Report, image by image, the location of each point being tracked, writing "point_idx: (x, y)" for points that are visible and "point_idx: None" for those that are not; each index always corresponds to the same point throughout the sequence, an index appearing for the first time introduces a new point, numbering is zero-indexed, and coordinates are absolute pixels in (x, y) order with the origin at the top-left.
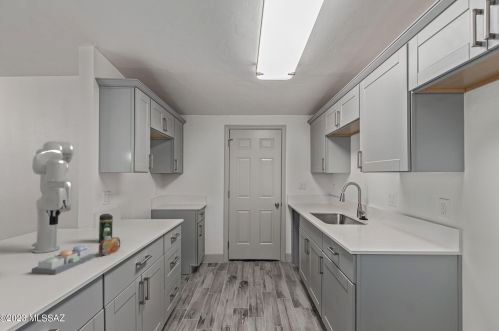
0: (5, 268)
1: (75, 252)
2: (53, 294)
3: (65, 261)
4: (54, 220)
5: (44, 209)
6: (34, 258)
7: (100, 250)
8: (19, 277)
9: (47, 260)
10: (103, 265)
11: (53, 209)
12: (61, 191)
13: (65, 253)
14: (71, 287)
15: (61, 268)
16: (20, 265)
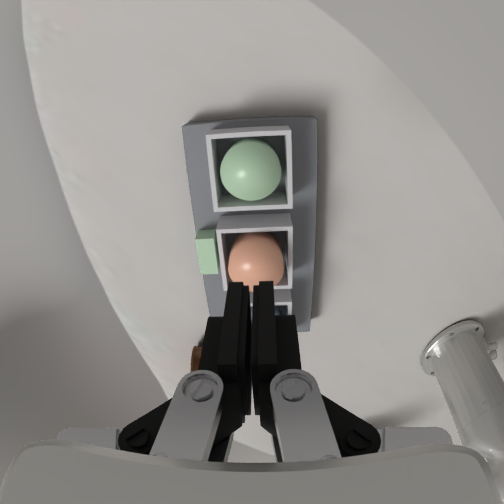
0: (462, 159)
1: (250, 301)
2: (39, 3)
3: (226, 219)
4: (213, 334)
5: (381, 455)
6: (443, 276)
7: (200, 353)
8: (314, 61)
9: (258, 155)
10: (103, 258)
11: (108, 456)
12: None
13: (238, 248)
14: (29, 57)
15: (186, 158)
16: (438, 198)
